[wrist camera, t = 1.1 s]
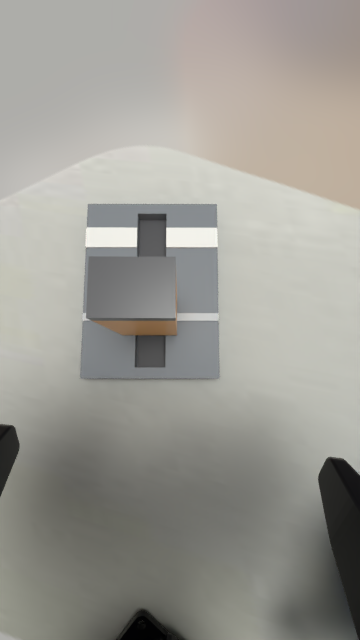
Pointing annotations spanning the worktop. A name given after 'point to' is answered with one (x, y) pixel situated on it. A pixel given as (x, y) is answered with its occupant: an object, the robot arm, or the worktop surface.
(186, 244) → the fader console
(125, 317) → the fader tab
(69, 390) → the worktop surface
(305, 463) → the worktop surface
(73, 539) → the worktop surface
